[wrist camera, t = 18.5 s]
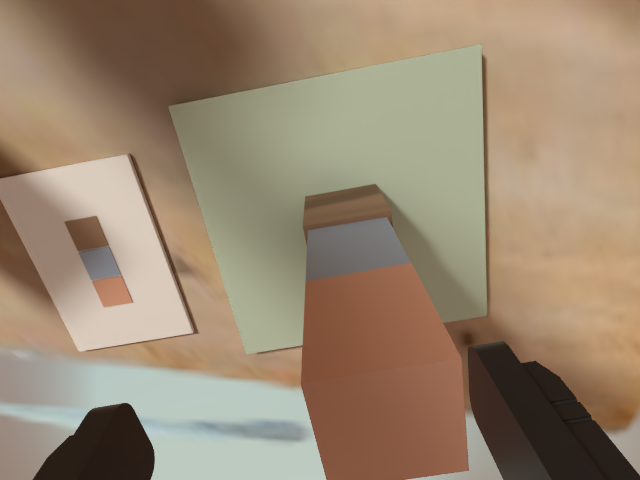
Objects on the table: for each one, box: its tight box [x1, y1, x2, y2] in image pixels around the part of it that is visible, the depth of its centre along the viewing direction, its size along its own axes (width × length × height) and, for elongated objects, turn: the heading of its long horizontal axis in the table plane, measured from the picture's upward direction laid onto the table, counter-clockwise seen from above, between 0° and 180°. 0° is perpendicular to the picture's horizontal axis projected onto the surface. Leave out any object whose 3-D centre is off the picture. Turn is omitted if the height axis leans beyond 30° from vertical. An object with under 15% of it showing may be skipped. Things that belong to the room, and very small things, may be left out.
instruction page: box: [0, 154, 194, 352], centre depth 30 cm, size 15×10×1 cm, turn 10°
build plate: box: [168, 44, 487, 354], centre depth 29 cm, size 20×20×1 cm
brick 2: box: [301, 263, 469, 480], centre depth 14 cm, size 4×4×6 cm
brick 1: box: [306, 217, 411, 281], centre depth 20 cm, size 4×4×6 cm
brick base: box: [303, 184, 393, 244], centre depth 26 cm, size 5×5×6 cm
